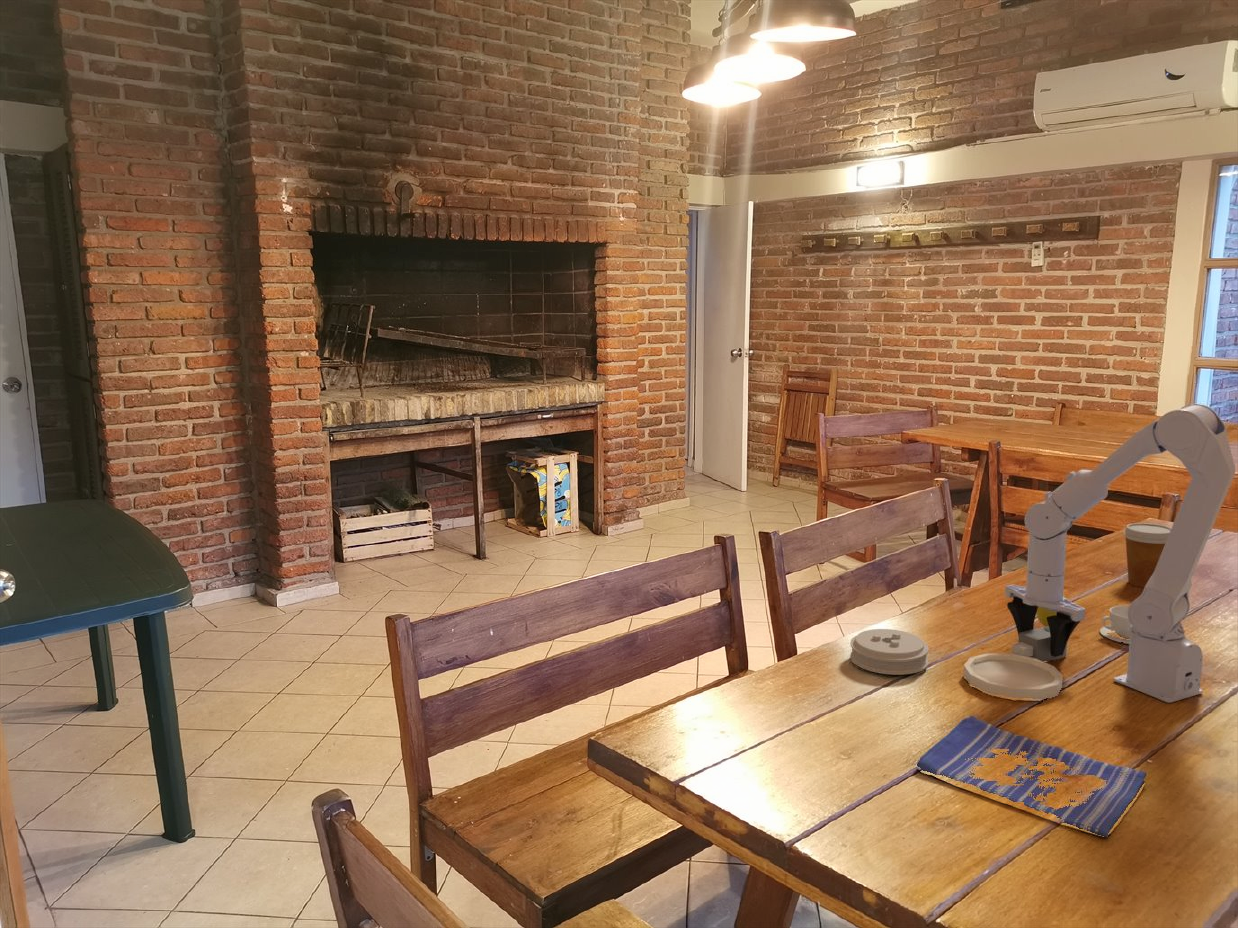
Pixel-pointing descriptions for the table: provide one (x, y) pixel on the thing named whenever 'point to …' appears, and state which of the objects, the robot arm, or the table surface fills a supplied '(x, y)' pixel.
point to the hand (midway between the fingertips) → (1040, 648)
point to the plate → (1013, 676)
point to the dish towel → (1034, 773)
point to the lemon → (1045, 614)
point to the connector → (1035, 645)
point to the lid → (889, 652)
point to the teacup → (1117, 624)
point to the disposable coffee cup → (1144, 550)
